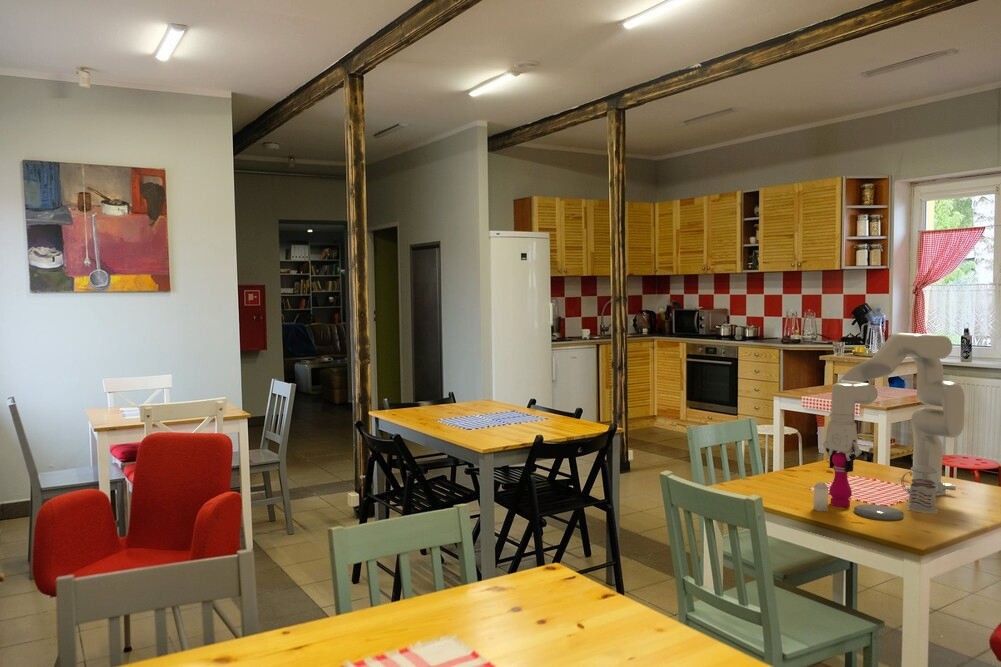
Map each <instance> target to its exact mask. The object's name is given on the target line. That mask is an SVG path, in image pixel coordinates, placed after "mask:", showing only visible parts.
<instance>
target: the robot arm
mask: <svg viewBox="0 0 1001 667" xmlns="http://www.w3.org/2000/svg"><path fill="white" fill-rule="evenodd" d="M952 350H953V343H952V341H951V339H950V338H949V337H947V336H946V335H943V334H942V335H941V334H940V335H938V334H928V333H923V334H922V333H912V332H911V333H910V332H909V333H907V332H906V333H905V332H896V333H894V334H892V335H891V336H889V337H888V338H887V339H886V341H885V342H884V343H883V345H882V346H880V347H879V349H878V350H877V351H876V352H875V354H874V355H873V356H872V357H871V358H869V359H867V360H865V361H862V362H861V363H858V364H857V365H855V366H853V367H851V368H850V369H849V370H847V371H846V372H845V373H844V374H843V376H841V378H840V379H839V380H838V381H837V382H836V383H834V384H832V387H831V403H830V404H831V405H830V406H831V410H830V413H829V417H830V420H829V421H828V424H827V428H826V434H825V441H824V442H823V444H822V445H823V448H824V449H825V451H826V452H827V455H828V457H829V468H830V469H834V467H833V466H835V465H834V463H833V462H832V457H833V455H834V454H836V453H839V452H844V453H845V454H846V458H847V460H846V461H845V472H848V473H851V472H853V471H854V461H855V460H856V459H857V458H858V457H859V456H860V455H861V454H862V450H861V448H860V447H859V446H858V430H857V425H856V423H855V411H856V410H855V409H856V404H858V405H859V404H860V405H861V404H862V405H869V404H873V403H874V402H875V401H876V400H877V398H878V389H877V388H876V387H875V386H874V385H873V384H872V383H868V381H870V380H874V379H879V378H884V377H887V376H890V375H891V374H893V373H894V371H895V370H896V369H897V368H898V367H899V366H900V364H902V362H903V361H904V360H905V359H906V358H908V357H909V358H911V359H912V360H913V361H914V363H915V366H916V398H917V400H918V401H919V402H920V403H921V404H923V405H928V406H933V407H935V406H936V407H941V408H942V409H936V408H931V407H921V408H917V409H915V410H914V411H913V413H912V415H911V419H910V420H911V421H910V423H911V428H912V433H913V450H912V451H913V452H912V453H913V456H912V467H914V466H917V465H926V466H930V467H932V468H934V469H935V470H936V471H937V472H936V473H934V474H927V473H924V480H931V481H933V482H935V484H934V485H933V486H935V487H936V497H939V496H945V495H946V492H947V491H946V490H949V491H956V490H957V489H956V487H957V486H956V484H951V483H944V482H943V480H942V473H943V470H942V469H943V452H944V451H943V450H944V449H943V443H942V441H941V439H940V437H944V438H950V439H951V438H954V439H955V438H957V437H959V436H961V434H962V433H963V430H964V425H965V405H966V404H965V402H966V399H965V398H966V397H965V392H964V389H963V387H962V386H961V384H959V383H957V382H954V381H948V380H944V366H943V363H942V361H941V360H943V359H946V358H947V357H949V356H950V354H951V353H952ZM866 381H867V382H866ZM923 437H925V438H927V439H928V441H925V456H924V441H922V438H923ZM911 477H912V478H911V480H912V479H923V473H919V472H915V471H912V476H911ZM911 482H912V481H911ZM912 483H913V482H912ZM912 483H911V484H912ZM918 488H927V487H924V486H920V487H918ZM906 489H907V490H908V491H907V490H906V491H907V492H909V491H910V485H908V486H907V487H906ZM927 489H928V488H927ZM916 492H920V491H916ZM922 495H924V496H926V495H925V494H922ZM930 496H932V495H930Z"/></svg>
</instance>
